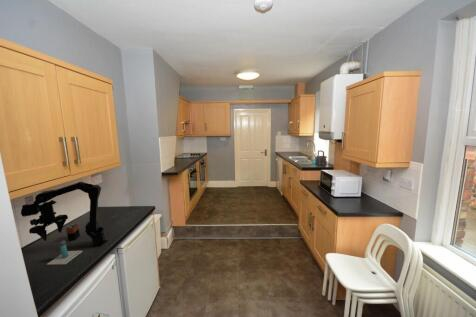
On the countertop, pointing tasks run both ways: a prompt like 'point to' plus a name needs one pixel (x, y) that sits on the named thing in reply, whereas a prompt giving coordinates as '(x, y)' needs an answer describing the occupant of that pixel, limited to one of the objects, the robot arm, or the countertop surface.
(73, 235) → the battery
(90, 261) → the countertop surface
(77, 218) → the countertop surface
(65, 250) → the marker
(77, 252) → the notepad
